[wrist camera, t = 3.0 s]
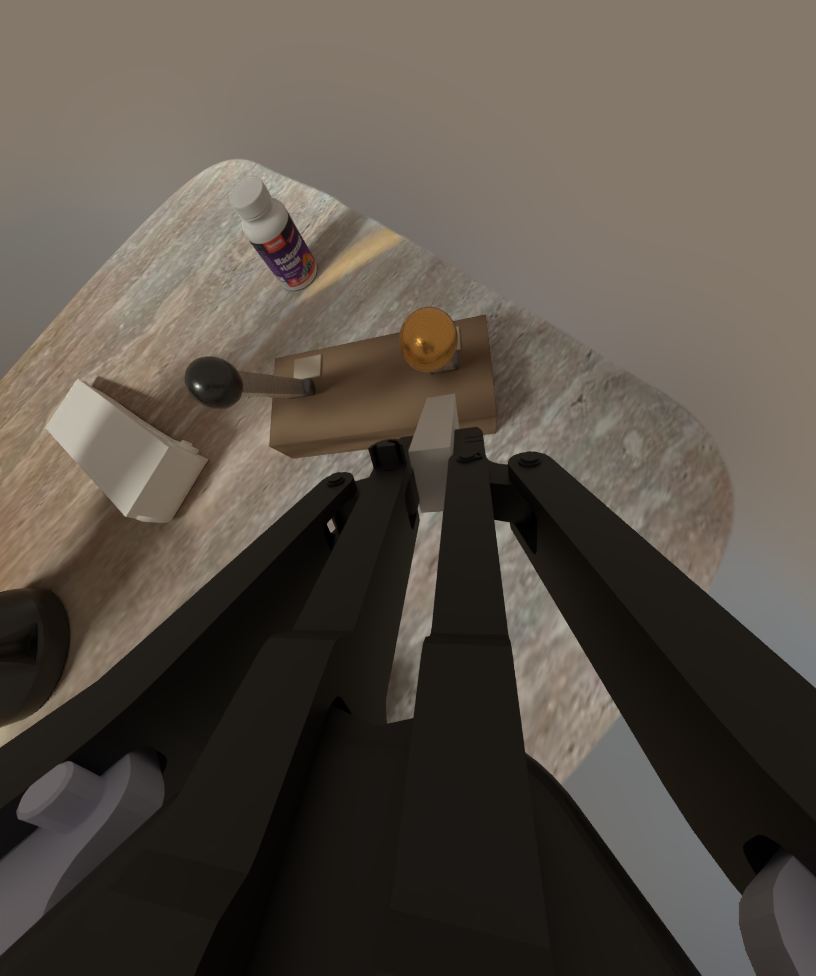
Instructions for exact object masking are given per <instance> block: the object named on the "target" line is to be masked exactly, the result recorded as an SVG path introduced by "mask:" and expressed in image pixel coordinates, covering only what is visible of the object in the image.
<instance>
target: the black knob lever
mask: <svg viewBox="0 0 816 976" xmlns="http://www.w3.org/2000/svg"><path fill="white" fill-rule="evenodd" d="M185 384H186V387H187V389H188V391H189V393H190V394H191V396H192V397H193V398H194V399H195V400H196V401H198V402H199V403H201V404H202V405H204V406H207V407H210V408H214V409H223V408H228V407H230V406H232V405H234V404H235V403H237V402H238V401H239V399H240V398H241V397H280V398H289V399H295V398H301V397H307V396H313V395H315V392H316V388H315V384H314V382H313V380H312V379H311V378H307V379H297V378H289V377H281V376H273V375H264V374H256V373H248V372H240V371H237V370H236V369H235V367H234V366H232V365H231V364H230V363H228V362H227V361H225V360H223V359H220V358H217V357H209V356H208V357H201V358H198V359H196V360H194V361H193V362H192V363H191V364H190V365H189V366H188V368H187V370H186V372H185Z"/></svg>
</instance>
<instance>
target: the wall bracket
mask: <svg viewBox="0 0 816 976" xmlns="http://www.w3.org/2000/svg"><path fill="white" fill-rule="evenodd" d="M45 428H46V429H47V430H48V431H49V432H50V434H51V435H52V436H53V437H54V438H55V439H56V440H57V441H58V442H59V444H60V445H61V446H62V447H63V448H64V449H65V450H66V451H67V452H68V454H69V455H70V456H71V457H72V458H73V459H74V460H75V461H76V462H77V464H78V465H79V466H80V467H81V468H82V469H83V470H84V471H85V472H86V474H87V475H88V476H89V477H90V478H91V479H92V480H93V481H94V482H95V484H96V485H97V486H98V487H99V488H100V489H101V490H102V491H103V492H104V494H105V495H106V496H107V497H108V498H109V499H110V500H111V501H112V502H113V504H114V505H115V506H116V507H117V508H118V509H119V510H120V511H121V512H122V513H123V515H124V516H125V517H129V518H135V519H137V520H140V521H143V522H156V523H167V522H170V521H171V520H172V519H173V517H174V515H175V514H176V512H177V511H178V509H179V507H180V506H181V504H182V502H183V501H184V499H185V497H186V496H187V494H188V492H189V491H190V489H191V488H192V486H193V484H194V483H195V481H196V479H197V478H198V476H199V474H200V473H201V471H202V469H203V468H204V466H205V465H206V463H207V461H208V459H207V458H205V457H203V456H201V455H199V454H197V453H198V451H199V449H197V448H195V447H192V445H193V444H192V443H190V442H188V441H185V440H182V441H181V442H180V441H177V440H174V439H172V438H170V437H169V436H167V435H165V434H164V433H162V432H160V431H159V430H157V429H156V428H154V427H153V426H151V425H149V424H148V423H146V422H145V421H143V420H142V419H140V418H139V417H137V416H136V415H135V414H133V413H132V412H130V411H129V410H128V409H126V408H125V407H123V406H122V405H121V404H119V403H118V402H116V401H115V400H113V399H112V398H110V397H109V396H107V395H106V394H104V393H103V392H101V391H99V390H97V389H95V388H93V387H92V386H91V385H89V384H88V383H87V382H85V381H82V380H80V379H77V380H76V382H75V383H74V385H73V386H72V388H71V389H70V391H69V392H68V394H67V395H66V397H65V398H64V400H63V401H62V403H61V405H60V406H59V408H58V409H57V411H56V412H55V414H54V415H53V417H52V418H51V420H50V421H49V423H48V424H47V426H46V427H45Z"/></svg>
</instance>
